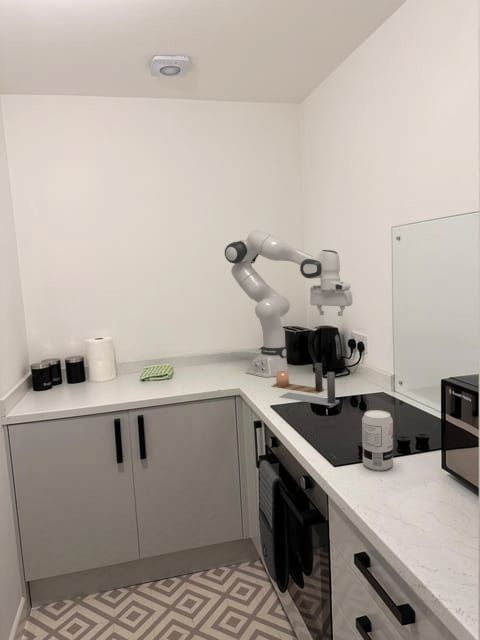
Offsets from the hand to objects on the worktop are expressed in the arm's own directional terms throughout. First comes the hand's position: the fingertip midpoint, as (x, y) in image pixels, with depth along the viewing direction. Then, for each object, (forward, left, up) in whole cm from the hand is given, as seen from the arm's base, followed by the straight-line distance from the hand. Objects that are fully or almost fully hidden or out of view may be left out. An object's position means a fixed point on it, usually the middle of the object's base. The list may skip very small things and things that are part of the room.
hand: (330, 315), depth 226 cm
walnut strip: (-6, -21, -31) cm, 38 cm away
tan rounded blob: (-14, -21, -30) cm, 39 cm away
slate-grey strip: (+6, -33, -31) cm, 46 cm away
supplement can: (+53, -76, -31) cm, 98 cm away
